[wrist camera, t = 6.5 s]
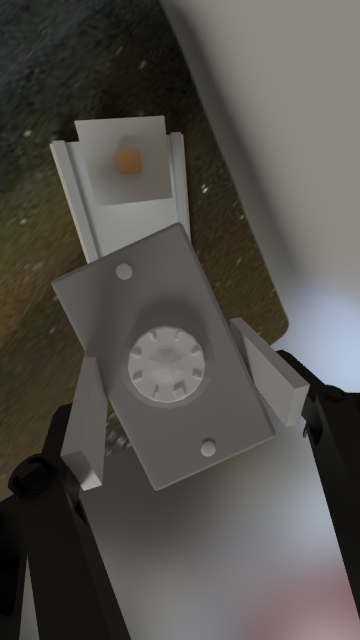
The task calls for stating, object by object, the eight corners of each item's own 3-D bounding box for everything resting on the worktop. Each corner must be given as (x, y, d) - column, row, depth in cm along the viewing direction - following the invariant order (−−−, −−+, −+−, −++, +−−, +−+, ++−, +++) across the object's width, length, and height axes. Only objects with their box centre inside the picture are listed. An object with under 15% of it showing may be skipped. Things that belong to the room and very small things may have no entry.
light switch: (181, 211, 11) (286, 447, 12) (179, 243, 17) (250, 401, 18) (37, 278, 12) (153, 507, 13) (84, 288, 17) (160, 443, 18)
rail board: (109, 326, 32) (105, 374, 23) (52, 146, 21) (4, 107, 12) (193, 309, 34) (219, 347, 25) (180, 137, 23) (216, 97, 14)
